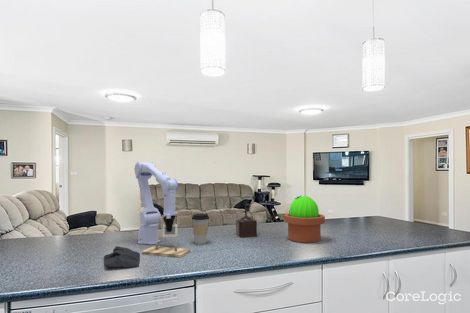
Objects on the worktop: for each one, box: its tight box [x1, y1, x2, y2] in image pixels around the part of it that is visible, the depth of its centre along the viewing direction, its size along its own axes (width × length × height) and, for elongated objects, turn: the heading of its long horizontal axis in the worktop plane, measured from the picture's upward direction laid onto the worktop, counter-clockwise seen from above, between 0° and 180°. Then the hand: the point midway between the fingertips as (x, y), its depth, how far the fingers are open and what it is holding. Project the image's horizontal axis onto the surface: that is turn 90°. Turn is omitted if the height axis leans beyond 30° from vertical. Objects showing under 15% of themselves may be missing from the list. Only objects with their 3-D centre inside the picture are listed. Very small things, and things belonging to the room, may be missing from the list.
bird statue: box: [235, 203, 258, 239], centre depth 177 cm, size 16×11×18 cm
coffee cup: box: [191, 213, 210, 245], centre depth 156 cm, size 9×9×15 cm
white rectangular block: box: [162, 223, 178, 238], centre depth 145 cm, size 7×3×6 cm, turn 98°
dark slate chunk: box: [103, 245, 141, 270], centre depth 124 cm, size 15×22×5 cm
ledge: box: [141, 242, 191, 258], centre depth 137 cm, size 20×10×4 cm, turn 74°
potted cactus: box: [283, 195, 326, 244], centre depth 164 cm, size 22×22×25 cm
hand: (169, 231), depth 145 cm, fingers open, 3 cm apart
